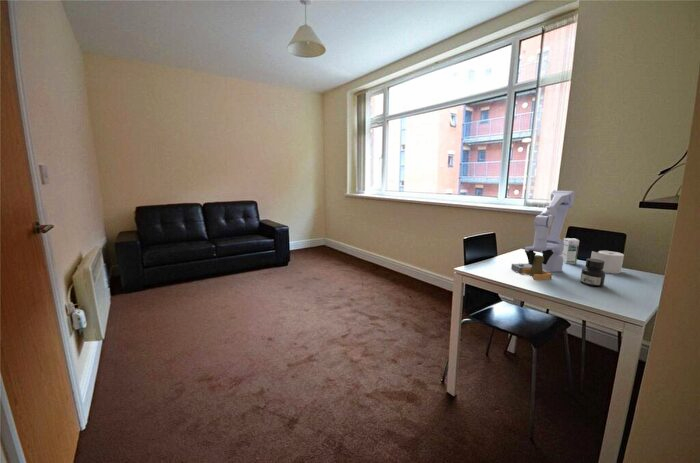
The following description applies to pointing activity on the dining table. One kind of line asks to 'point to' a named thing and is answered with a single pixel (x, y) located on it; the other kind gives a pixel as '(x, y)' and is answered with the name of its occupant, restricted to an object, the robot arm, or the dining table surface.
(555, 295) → the dining table surface
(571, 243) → the syrup box
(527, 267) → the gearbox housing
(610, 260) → the toilet tissue
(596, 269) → the ink bottle
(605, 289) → the dining table surface
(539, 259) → the cork
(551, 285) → the dining table surface
